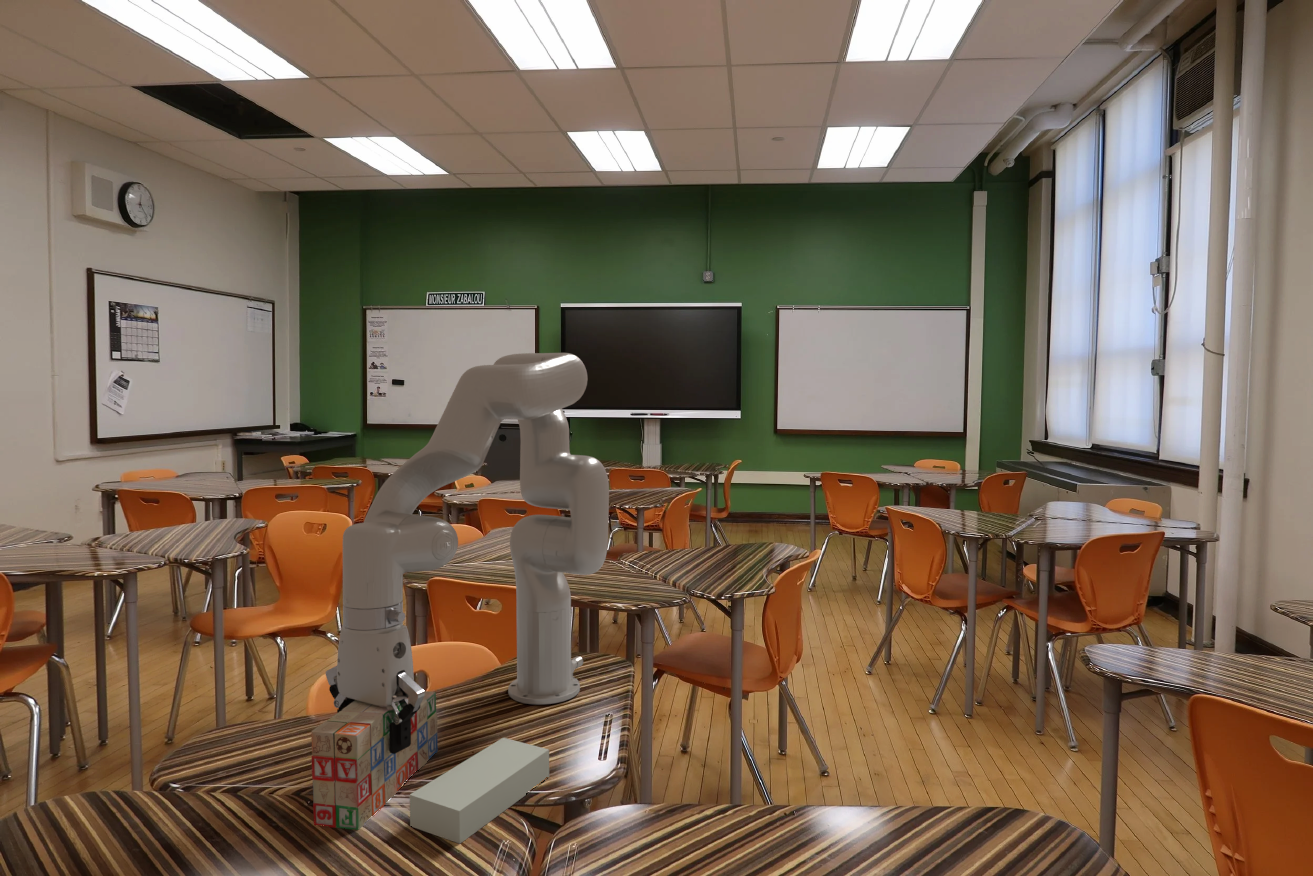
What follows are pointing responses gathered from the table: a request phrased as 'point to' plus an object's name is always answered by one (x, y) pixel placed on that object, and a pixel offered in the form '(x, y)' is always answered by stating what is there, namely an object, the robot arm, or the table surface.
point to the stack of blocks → (365, 761)
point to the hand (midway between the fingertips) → (373, 741)
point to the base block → (478, 789)
